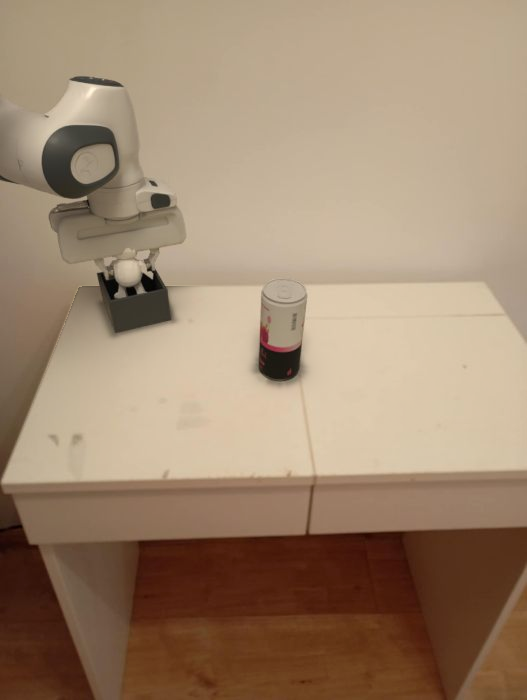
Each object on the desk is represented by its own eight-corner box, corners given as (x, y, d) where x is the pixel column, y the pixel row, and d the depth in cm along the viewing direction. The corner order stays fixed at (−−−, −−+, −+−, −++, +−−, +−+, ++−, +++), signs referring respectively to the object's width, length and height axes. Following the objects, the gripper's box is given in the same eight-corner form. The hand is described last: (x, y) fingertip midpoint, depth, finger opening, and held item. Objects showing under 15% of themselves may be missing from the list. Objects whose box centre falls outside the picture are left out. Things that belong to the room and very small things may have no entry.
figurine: (156, 289, 86) (148, 229, 78) (153, 304, 83) (144, 242, 75) (112, 290, 86) (99, 229, 78) (107, 304, 82) (93, 242, 74)
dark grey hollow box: (115, 333, 81) (108, 302, 77) (103, 302, 88) (96, 272, 84) (171, 319, 85) (167, 289, 81) (155, 291, 92) (151, 262, 87)
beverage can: (256, 380, 74) (259, 301, 64) (260, 353, 79) (263, 275, 69) (298, 383, 73) (307, 304, 64) (299, 356, 78) (307, 278, 69)
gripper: (47, 214, 67) (70, 296, 76) (186, 194, 74) (191, 271, 83) (42, 197, 71) (64, 277, 80) (173, 180, 78) (180, 254, 87)
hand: (130, 273), depth 81 cm, fingers closed on figurine, 5 cm apart
